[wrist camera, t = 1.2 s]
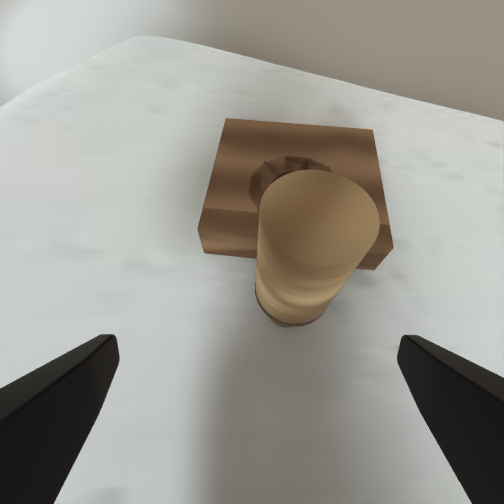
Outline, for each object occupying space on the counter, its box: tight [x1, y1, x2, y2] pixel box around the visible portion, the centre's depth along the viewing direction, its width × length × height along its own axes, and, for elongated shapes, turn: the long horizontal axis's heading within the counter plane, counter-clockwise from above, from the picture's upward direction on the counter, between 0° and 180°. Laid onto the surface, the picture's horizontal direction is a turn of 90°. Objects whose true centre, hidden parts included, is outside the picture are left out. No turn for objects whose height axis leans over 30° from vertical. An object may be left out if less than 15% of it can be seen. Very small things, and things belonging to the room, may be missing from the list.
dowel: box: [255, 170, 380, 327], centre depth 18 cm, size 5×5×13 cm
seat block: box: [198, 118, 394, 270], centre depth 28 cm, size 15×16×4 cm
